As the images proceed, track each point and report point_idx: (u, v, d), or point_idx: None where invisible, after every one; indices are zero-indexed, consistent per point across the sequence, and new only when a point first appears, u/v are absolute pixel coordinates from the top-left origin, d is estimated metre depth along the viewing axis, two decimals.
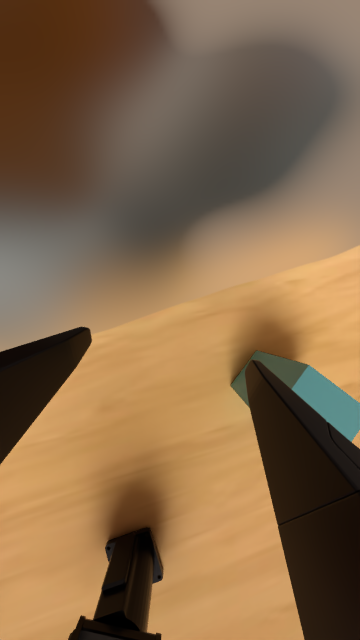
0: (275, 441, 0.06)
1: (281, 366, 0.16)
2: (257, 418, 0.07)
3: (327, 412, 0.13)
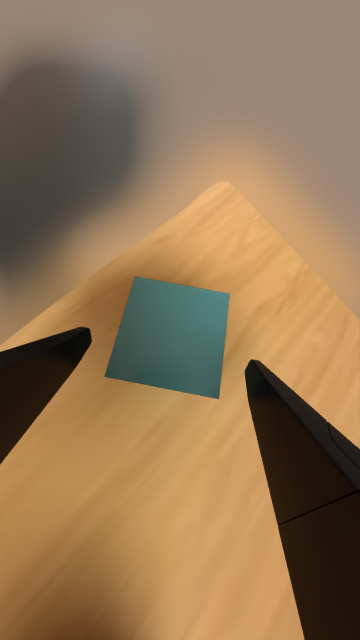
0: (276, 441, 0.06)
1: None
2: (257, 418, 0.07)
3: (180, 318, 0.10)
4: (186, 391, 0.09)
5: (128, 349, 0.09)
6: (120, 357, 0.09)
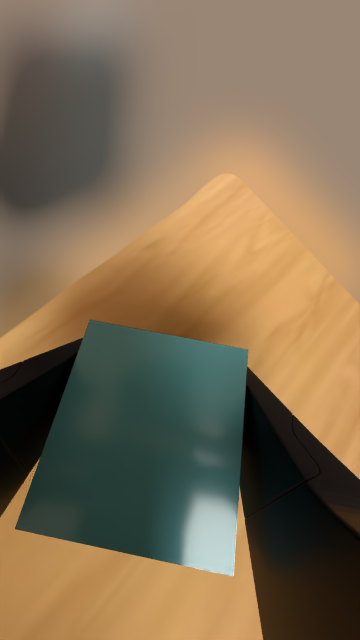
0: (246, 435, 0.06)
1: None
2: None
3: (164, 398, 0.06)
4: (171, 559, 0.05)
5: (66, 465, 0.05)
6: (50, 483, 0.05)
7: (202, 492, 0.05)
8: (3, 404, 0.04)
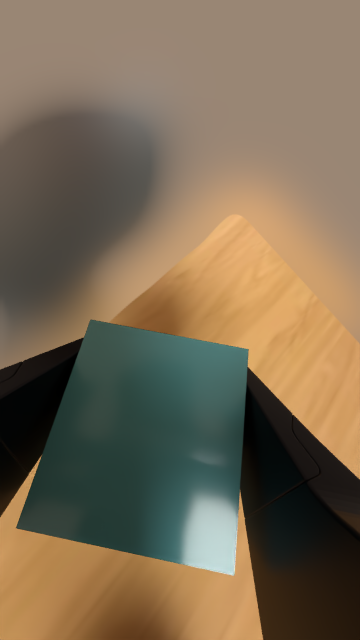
0: (246, 435, 0.06)
1: None
2: None
3: (165, 398, 0.06)
4: (171, 558, 0.05)
5: (67, 465, 0.05)
6: (51, 482, 0.05)
7: (203, 491, 0.05)
8: (3, 404, 0.04)
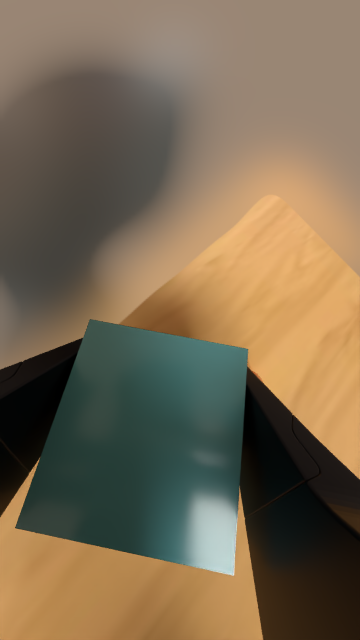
0: (246, 435, 0.06)
1: None
2: None
3: (164, 397, 0.06)
4: (171, 558, 0.05)
5: (66, 464, 0.05)
6: (50, 482, 0.05)
7: (202, 491, 0.05)
8: (2, 404, 0.04)
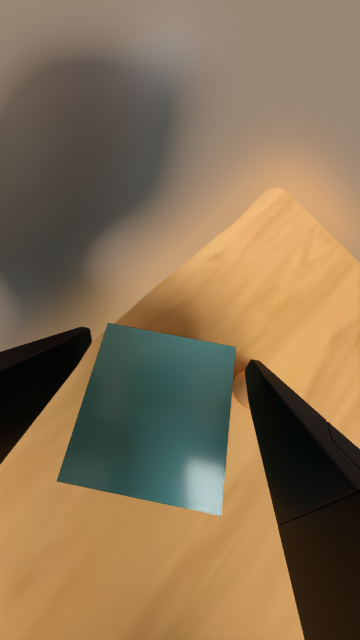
0: (276, 441, 0.06)
1: None
2: (257, 418, 0.07)
3: (168, 385, 0.07)
4: (174, 503, 0.06)
5: (93, 435, 0.07)
6: (81, 448, 0.06)
7: (198, 456, 0.06)
8: None
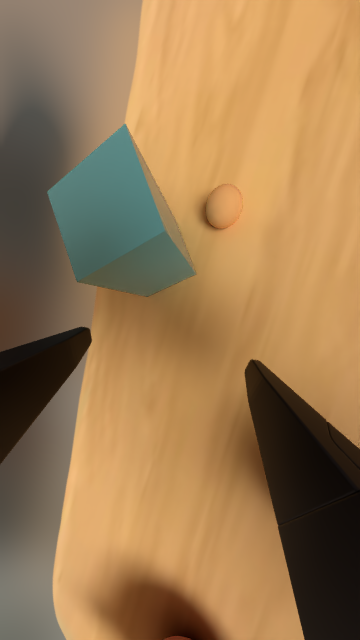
0: (276, 441, 0.06)
1: None
2: (257, 418, 0.07)
3: (98, 191, 0.09)
4: (136, 246, 0.09)
5: (78, 251, 0.10)
6: (77, 261, 0.10)
7: (136, 212, 0.09)
8: None
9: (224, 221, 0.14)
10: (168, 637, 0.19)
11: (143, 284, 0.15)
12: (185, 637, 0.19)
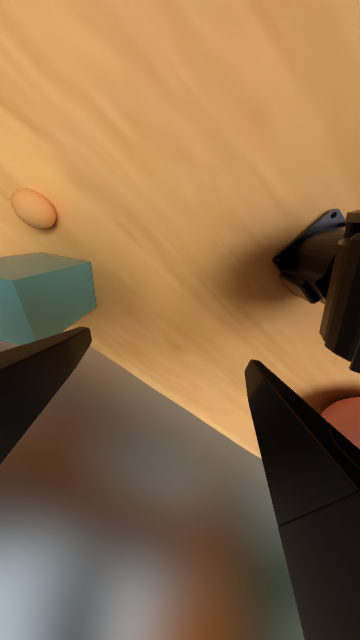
0: (276, 441, 0.06)
1: None
2: (257, 418, 0.07)
3: None
4: (20, 302, 0.12)
5: (17, 337, 0.14)
6: (24, 341, 0.14)
7: None
8: None
9: (46, 217, 0.16)
10: None
11: (73, 307, 0.18)
12: None
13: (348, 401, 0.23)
